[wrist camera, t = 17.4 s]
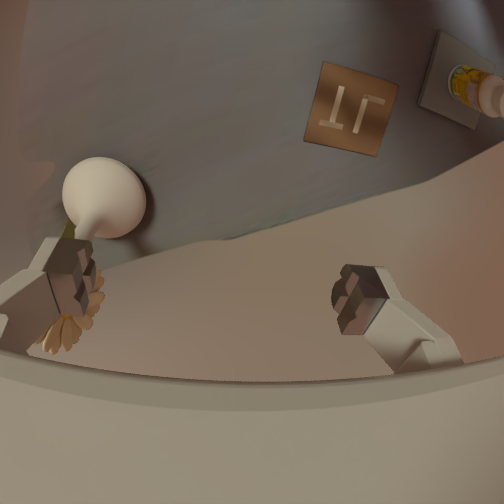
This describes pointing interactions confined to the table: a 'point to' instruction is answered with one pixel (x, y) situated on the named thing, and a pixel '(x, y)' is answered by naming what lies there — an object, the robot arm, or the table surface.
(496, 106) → the supplement bottle
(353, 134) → the tile
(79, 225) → the flower in vase
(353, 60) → the table surface
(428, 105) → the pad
